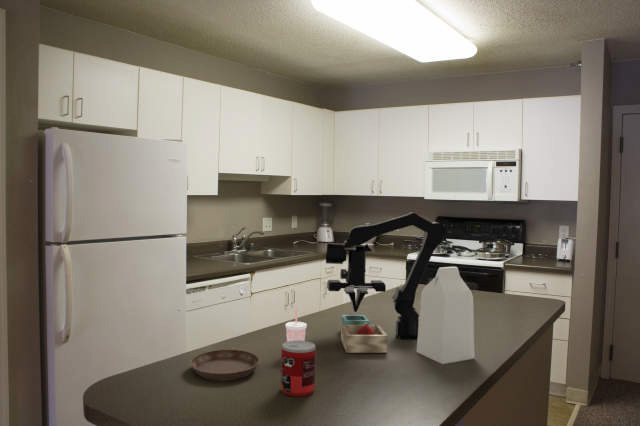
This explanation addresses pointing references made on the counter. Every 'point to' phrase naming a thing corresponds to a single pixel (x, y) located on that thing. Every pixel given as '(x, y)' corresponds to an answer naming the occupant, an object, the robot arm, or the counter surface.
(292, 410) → the counter surface
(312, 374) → the canned food
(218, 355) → the plant saucer
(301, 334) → the beverage cup
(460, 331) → the milk
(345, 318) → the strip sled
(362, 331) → the onion
